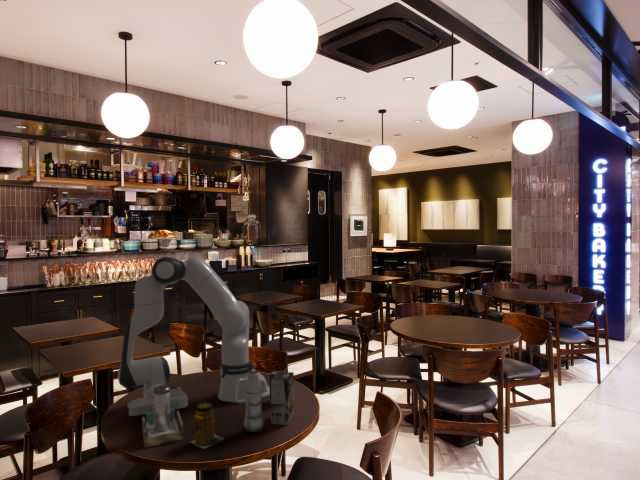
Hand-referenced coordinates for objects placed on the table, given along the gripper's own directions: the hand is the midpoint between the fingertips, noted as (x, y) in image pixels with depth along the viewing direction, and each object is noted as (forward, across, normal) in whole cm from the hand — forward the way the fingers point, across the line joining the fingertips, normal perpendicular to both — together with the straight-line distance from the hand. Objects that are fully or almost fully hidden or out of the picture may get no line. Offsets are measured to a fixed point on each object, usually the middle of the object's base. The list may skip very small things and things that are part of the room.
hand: (160, 412), depth 153 cm
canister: (+6, 0, +3) cm, 7 cm away
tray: (+7, 0, +5) cm, 9 cm away
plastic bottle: (+17, +29, +5) cm, 34 cm away
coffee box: (+13, +41, +6) cm, 43 cm away
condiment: (+18, +13, +6) cm, 23 cm away
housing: (+7, 0, +5) cm, 9 cm away
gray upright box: (-3, +45, +6) cm, 45 cm away
